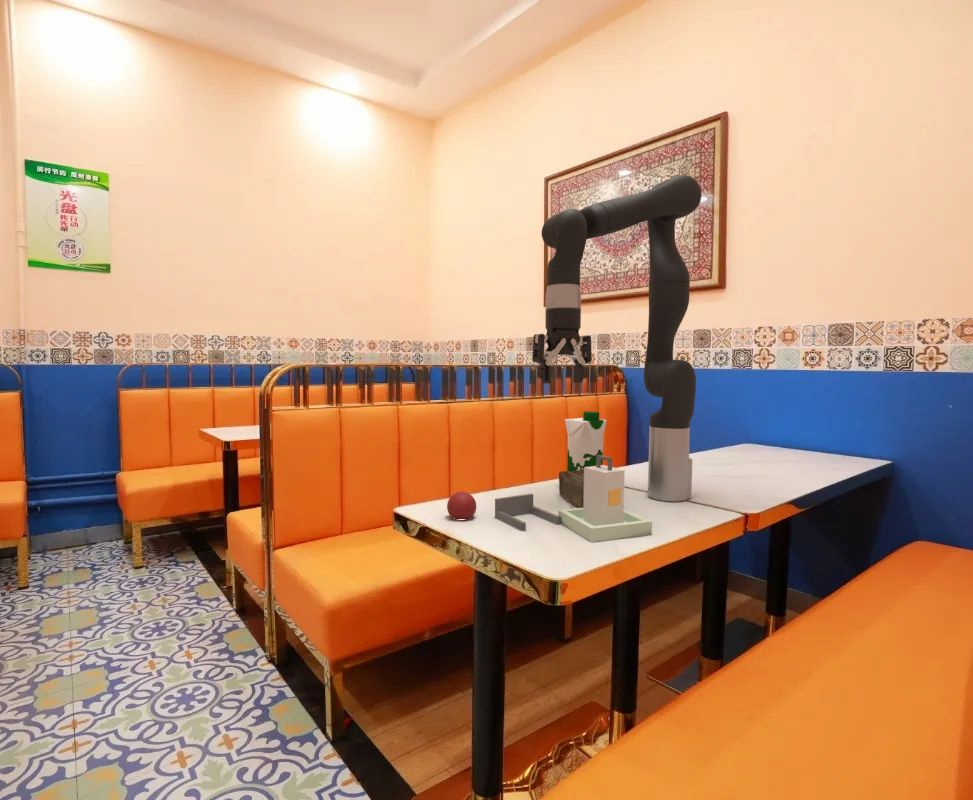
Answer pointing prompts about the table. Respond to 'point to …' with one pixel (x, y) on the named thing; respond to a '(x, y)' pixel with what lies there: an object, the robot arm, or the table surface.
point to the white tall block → (603, 493)
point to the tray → (605, 526)
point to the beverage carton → (572, 487)
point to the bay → (520, 510)
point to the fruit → (461, 505)
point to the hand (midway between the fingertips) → (562, 383)
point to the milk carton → (584, 440)
